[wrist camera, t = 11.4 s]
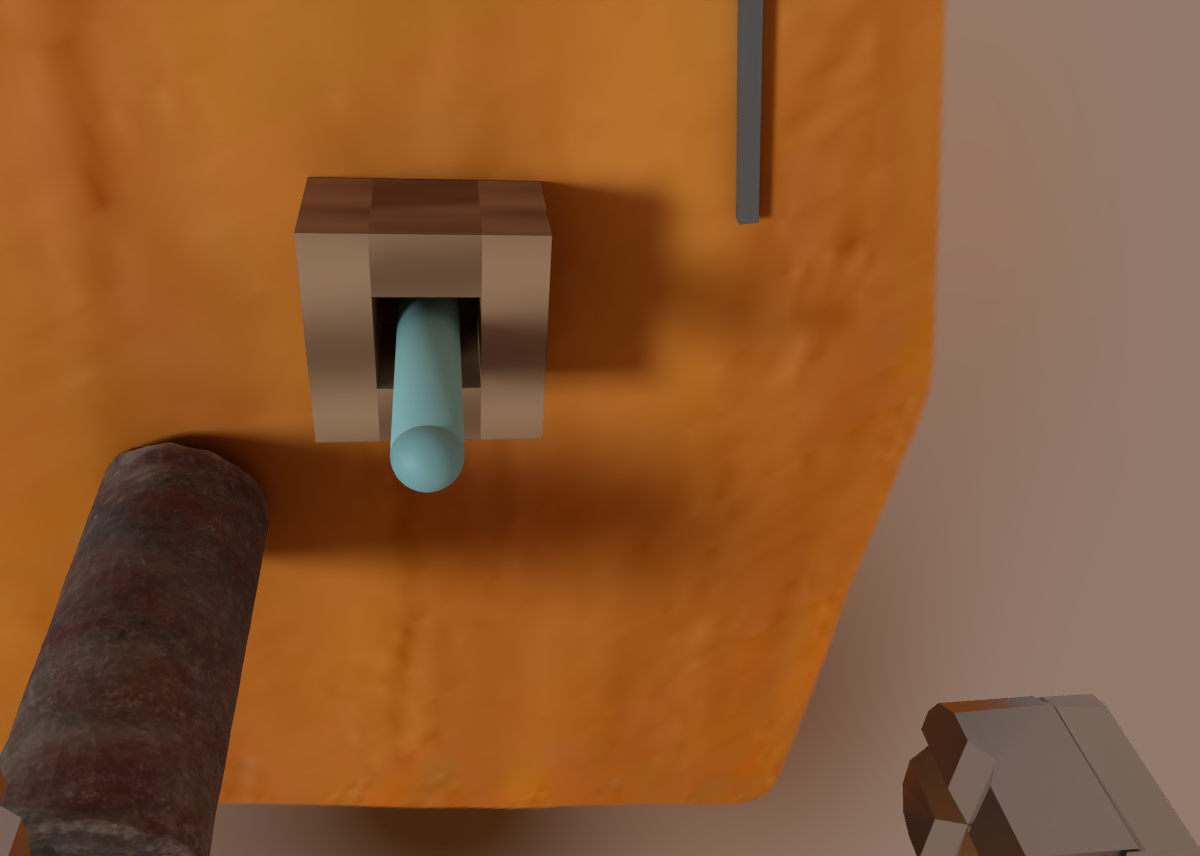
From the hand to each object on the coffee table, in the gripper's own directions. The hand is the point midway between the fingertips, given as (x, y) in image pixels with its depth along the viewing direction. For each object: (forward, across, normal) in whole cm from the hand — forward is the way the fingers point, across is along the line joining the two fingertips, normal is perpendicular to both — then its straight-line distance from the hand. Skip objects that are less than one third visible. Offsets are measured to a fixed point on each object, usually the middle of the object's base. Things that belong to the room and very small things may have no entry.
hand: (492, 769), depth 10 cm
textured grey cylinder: (+34, +12, +24) cm, 44 cm away
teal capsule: (+34, +1, +13) cm, 37 cm away
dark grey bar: (+34, -11, +2) cm, 36 cm away
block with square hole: (+34, +1, +13) cm, 36 cm away
